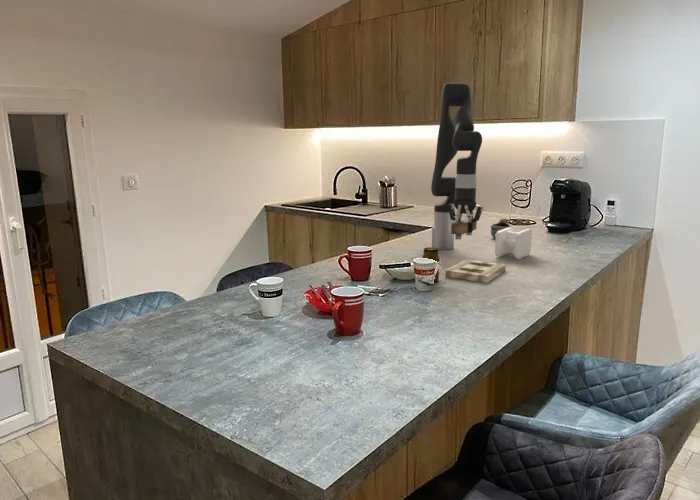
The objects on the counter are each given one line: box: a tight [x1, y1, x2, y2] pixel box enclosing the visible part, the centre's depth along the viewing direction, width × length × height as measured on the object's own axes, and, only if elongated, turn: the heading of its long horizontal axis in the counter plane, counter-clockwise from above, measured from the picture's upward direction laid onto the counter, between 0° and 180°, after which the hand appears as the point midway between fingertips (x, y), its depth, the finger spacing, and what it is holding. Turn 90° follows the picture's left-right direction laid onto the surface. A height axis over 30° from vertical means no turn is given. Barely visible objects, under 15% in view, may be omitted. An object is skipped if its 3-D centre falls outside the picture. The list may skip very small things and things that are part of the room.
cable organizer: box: [494, 227, 533, 261], centre depth 224 cm, size 15×11×12 cm
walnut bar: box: [451, 217, 478, 240], centre depth 197 cm, size 4×14×6 cm, turn 144°
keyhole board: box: [445, 259, 507, 284], centre depth 199 cm, size 16×20×2 cm
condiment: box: [422, 246, 447, 285], centre depth 189 cm, size 7×8×12 cm
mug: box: [490, 217, 512, 240], centre depth 262 cm, size 10×12×10 cm
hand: (464, 231), depth 197 cm, fingers closed on walnut bar, 4 cm apart
